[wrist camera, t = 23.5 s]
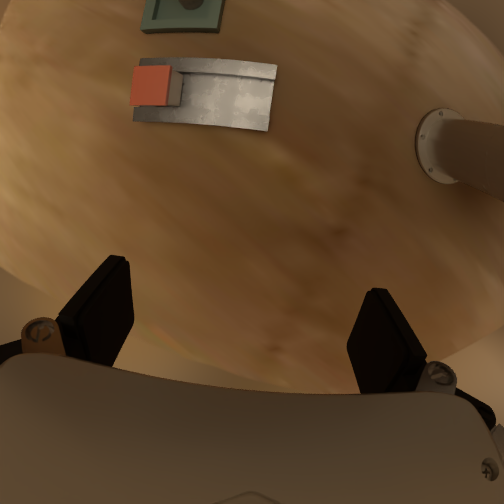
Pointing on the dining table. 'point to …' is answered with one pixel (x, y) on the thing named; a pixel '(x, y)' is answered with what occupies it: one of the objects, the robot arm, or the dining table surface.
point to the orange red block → (156, 86)
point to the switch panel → (216, 93)
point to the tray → (181, 17)
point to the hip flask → (191, 4)
